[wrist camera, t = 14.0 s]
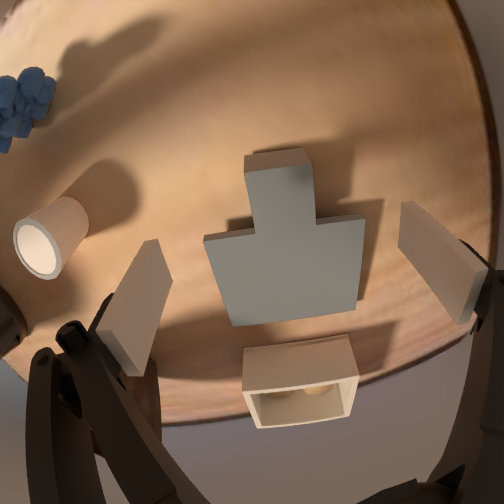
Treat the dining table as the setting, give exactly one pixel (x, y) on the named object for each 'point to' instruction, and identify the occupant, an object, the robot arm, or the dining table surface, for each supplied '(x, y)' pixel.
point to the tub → (300, 381)
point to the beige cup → (50, 236)
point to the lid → (286, 248)
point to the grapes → (23, 103)
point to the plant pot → (142, 399)
